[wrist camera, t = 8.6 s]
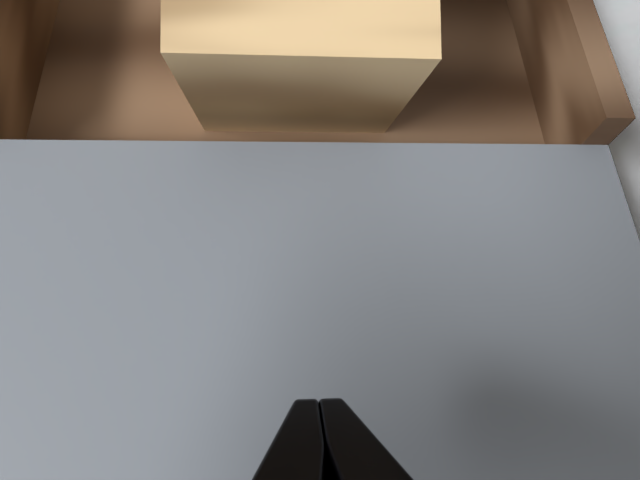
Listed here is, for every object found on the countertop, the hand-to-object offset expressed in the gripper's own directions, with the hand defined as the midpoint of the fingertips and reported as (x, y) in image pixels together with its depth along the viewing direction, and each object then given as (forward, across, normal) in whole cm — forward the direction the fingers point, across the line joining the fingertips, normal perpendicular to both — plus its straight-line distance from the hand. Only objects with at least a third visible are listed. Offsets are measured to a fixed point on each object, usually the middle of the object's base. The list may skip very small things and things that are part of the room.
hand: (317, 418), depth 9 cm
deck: (+7, 0, +3) cm, 8 cm away
